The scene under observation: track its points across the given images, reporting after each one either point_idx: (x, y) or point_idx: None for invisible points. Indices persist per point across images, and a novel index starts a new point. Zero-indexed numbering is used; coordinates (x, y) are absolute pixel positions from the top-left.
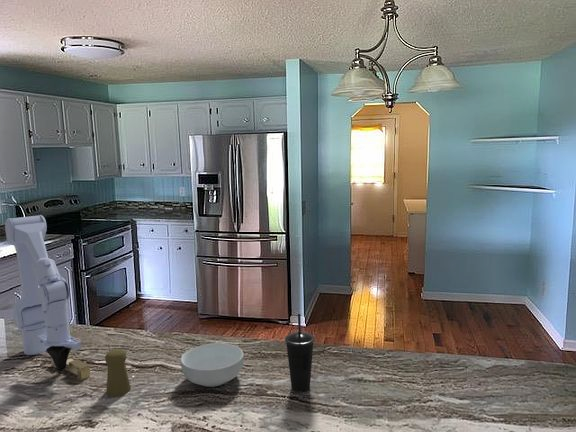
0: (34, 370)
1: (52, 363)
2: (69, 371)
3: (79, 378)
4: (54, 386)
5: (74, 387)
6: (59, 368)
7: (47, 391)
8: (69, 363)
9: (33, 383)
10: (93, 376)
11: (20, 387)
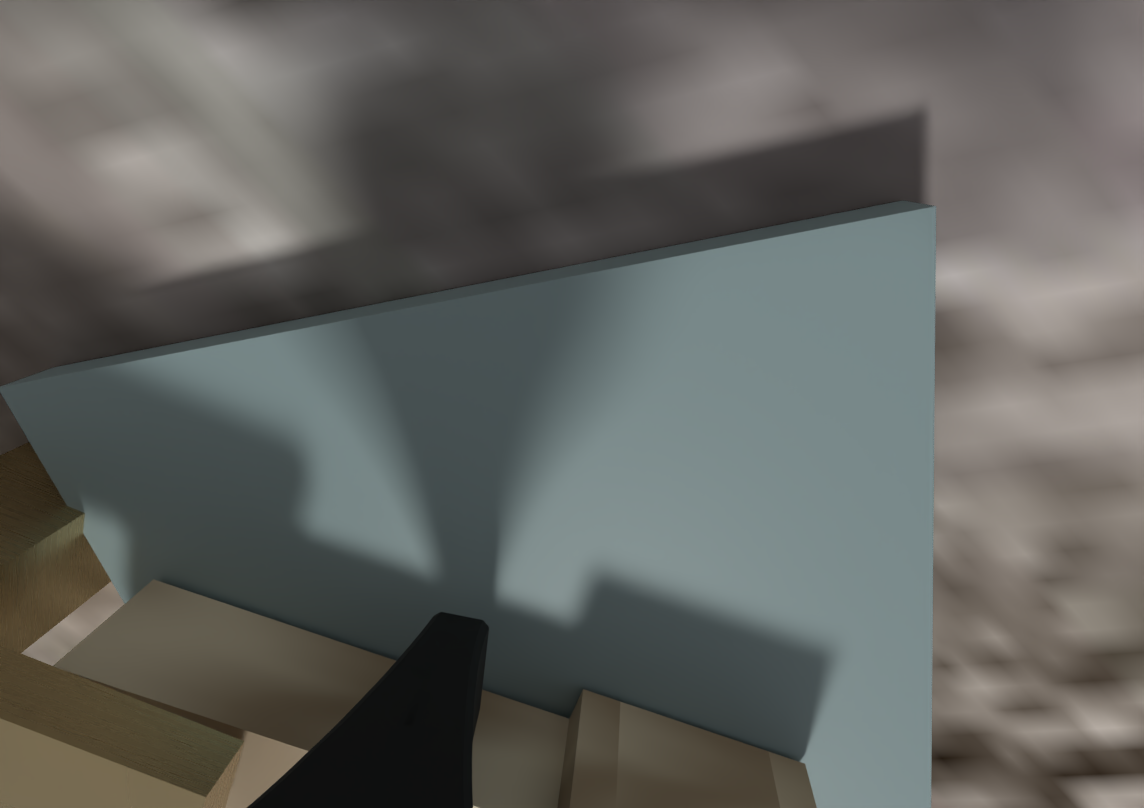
0: (1075, 672)
1: (781, 805)
2: (379, 655)
3: (28, 500)
4: (342, 308)
5: (33, 342)
6: (407, 652)
7: (309, 134)
8: (195, 769)
9: None
10: (88, 617)
11: (962, 140)
